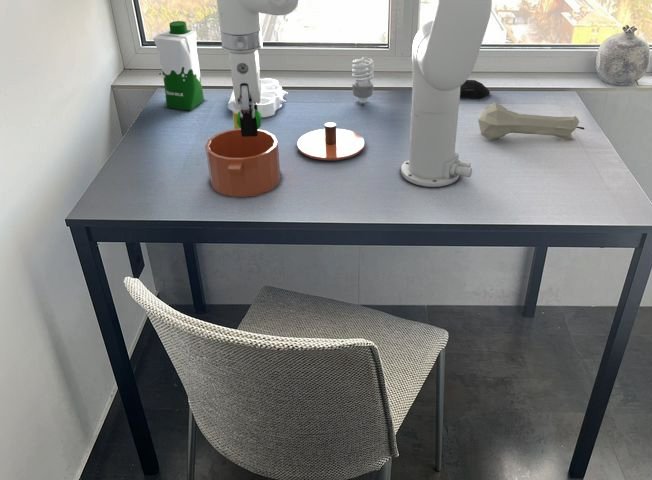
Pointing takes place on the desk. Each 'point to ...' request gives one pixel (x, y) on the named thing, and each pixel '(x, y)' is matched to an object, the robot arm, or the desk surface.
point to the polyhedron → (256, 117)
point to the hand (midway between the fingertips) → (250, 128)
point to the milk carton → (180, 66)
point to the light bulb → (363, 86)
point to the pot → (243, 163)
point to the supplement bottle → (236, 113)
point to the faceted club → (523, 123)
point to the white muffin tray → (267, 98)
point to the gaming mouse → (473, 90)
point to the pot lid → (330, 143)
